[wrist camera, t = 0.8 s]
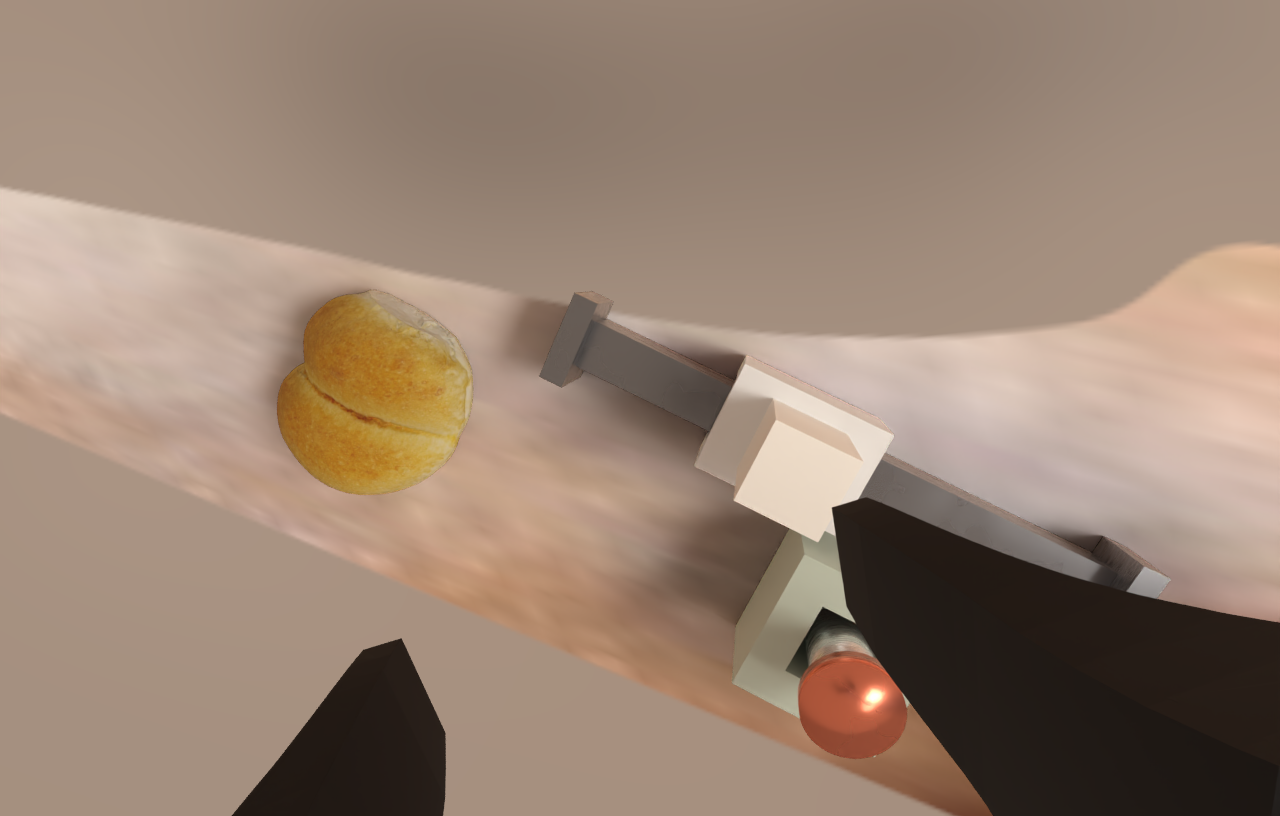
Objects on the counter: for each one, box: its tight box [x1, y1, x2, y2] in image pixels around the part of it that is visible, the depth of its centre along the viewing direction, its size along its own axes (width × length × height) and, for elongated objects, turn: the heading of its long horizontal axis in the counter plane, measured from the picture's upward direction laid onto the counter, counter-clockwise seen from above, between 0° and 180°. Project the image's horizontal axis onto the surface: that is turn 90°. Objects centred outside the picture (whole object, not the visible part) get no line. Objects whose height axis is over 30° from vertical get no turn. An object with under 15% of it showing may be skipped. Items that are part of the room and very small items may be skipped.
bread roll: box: [277, 290, 473, 495], centre depth 30 cm, size 8×9×4 cm
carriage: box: [694, 355, 895, 542], centre depth 25 cm, size 6×4×7 cm
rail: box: [539, 291, 1171, 599], centre depth 27 cm, size 24×4×3 cm, turn 65°
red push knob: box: [797, 607, 907, 759], centre depth 25 cm, size 3×3×5 cm
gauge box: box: [732, 528, 910, 757], centre depth 28 cm, size 6×6×4 cm
